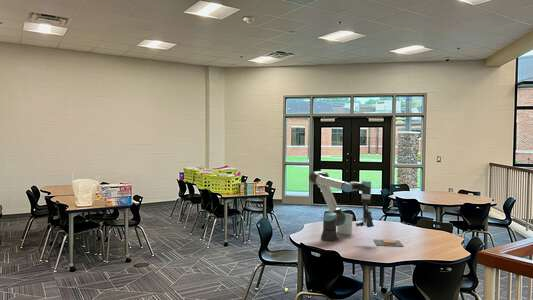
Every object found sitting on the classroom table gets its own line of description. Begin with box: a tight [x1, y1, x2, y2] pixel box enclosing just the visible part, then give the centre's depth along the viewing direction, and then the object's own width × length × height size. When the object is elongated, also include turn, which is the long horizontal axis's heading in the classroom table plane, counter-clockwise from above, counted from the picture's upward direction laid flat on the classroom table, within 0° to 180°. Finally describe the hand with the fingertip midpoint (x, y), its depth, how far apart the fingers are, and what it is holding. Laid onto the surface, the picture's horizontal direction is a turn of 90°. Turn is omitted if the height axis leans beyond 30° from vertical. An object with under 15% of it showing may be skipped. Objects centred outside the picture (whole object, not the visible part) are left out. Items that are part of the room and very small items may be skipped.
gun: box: [355, 210, 375, 228], centre depth 339 cm, size 3×17×15 cm
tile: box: [381, 238, 396, 244], centre depth 336 cm, size 2×10×10 cm
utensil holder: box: [336, 213, 354, 235], centre depth 374 cm, size 15×15×18 cm
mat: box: [373, 238, 404, 248], centre depth 336 cm, size 22×18×1 cm
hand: (364, 225), depth 339 cm, fingers closed on gun, 3 cm apart
